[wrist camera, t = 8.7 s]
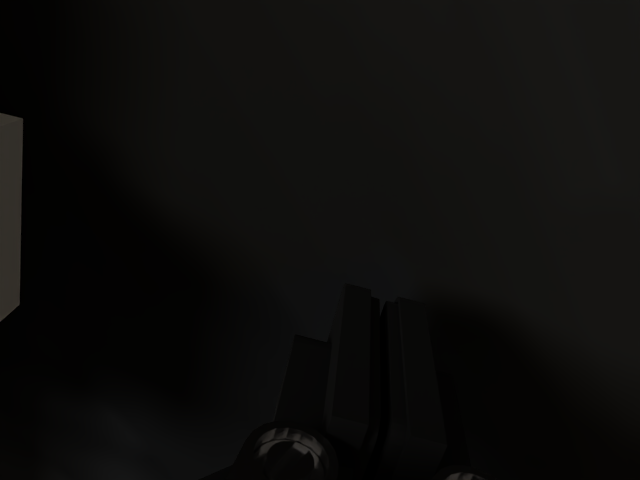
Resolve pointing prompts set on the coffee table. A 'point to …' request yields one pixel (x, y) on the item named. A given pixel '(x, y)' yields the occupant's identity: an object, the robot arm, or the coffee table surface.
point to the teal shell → (10, 211)
